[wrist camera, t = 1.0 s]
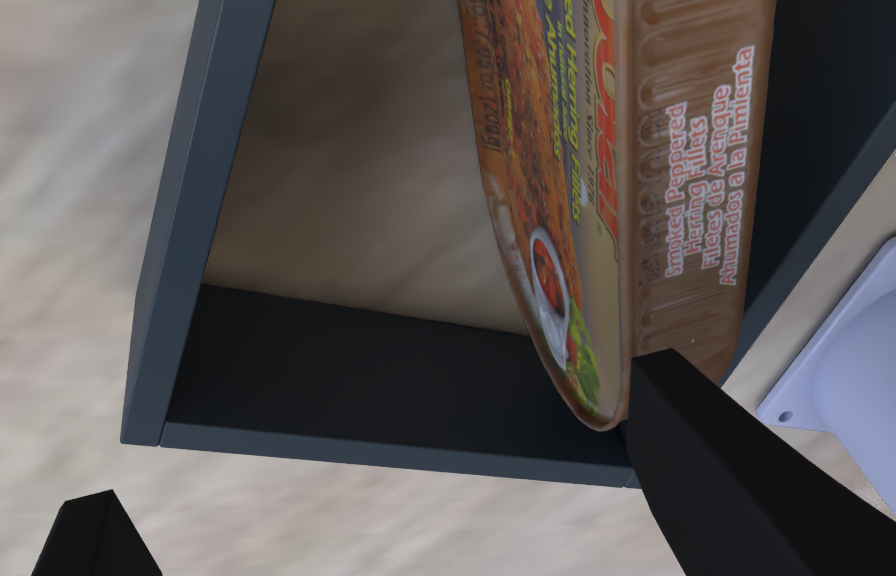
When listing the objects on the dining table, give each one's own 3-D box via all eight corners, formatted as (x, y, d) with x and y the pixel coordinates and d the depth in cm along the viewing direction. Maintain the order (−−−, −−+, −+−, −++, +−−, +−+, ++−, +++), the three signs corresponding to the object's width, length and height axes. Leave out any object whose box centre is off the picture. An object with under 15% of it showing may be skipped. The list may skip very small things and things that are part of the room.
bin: (1041, -388, 17) (1288, -385, 13) (586, 365, 27) (647, 491, 23) (382, -856, 12) (468, -1079, 8) (135, 298, 22) (119, 444, 18)
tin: (401, -413, 14) (554, -423, 8) (582, -445, 15) (870, -479, 8) (491, 274, 24) (592, 521, 18) (599, 248, 24) (737, 482, 18)
